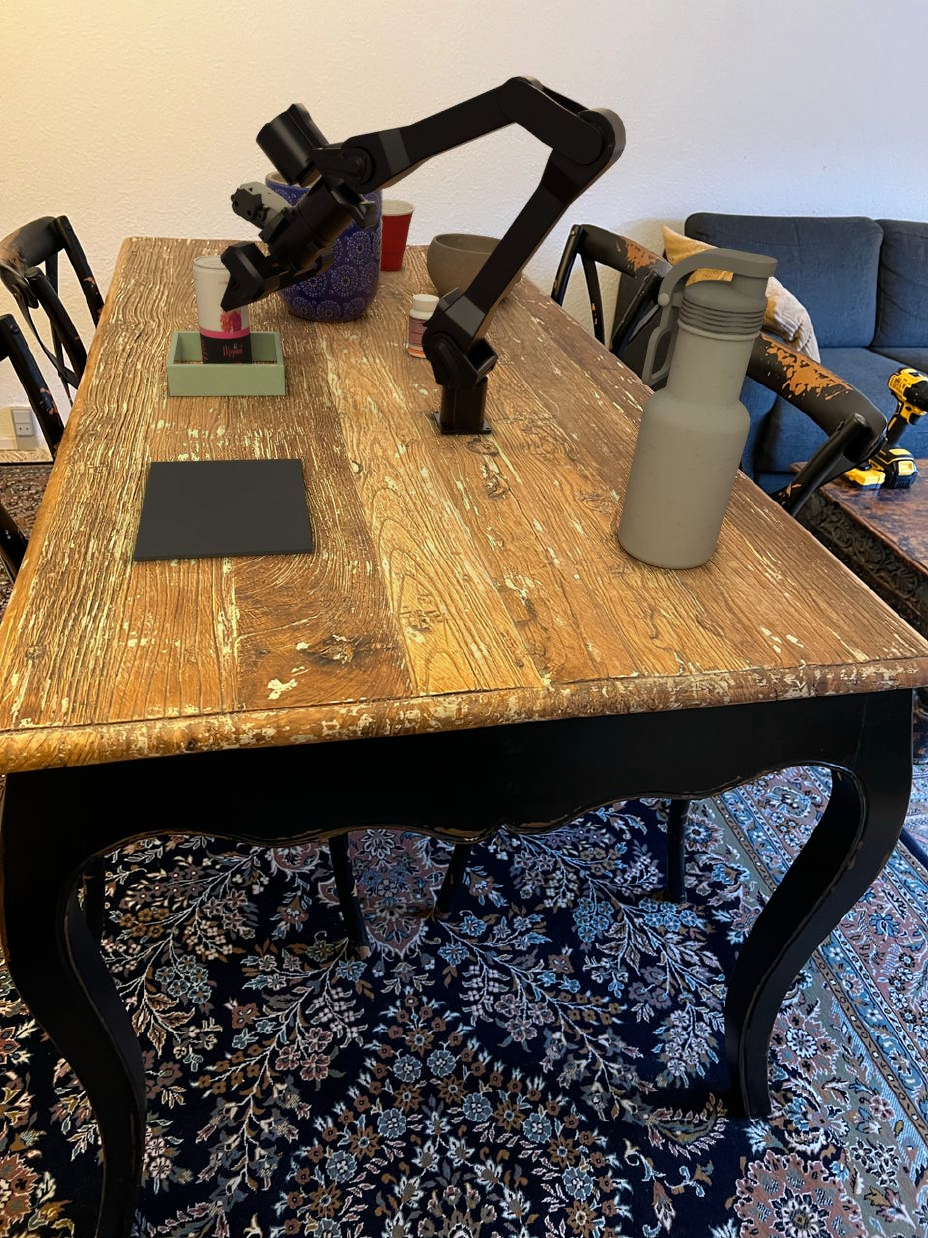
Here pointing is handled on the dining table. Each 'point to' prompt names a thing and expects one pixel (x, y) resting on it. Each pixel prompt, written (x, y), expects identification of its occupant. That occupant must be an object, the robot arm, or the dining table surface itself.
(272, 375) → the basin
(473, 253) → the bowl
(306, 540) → the mat
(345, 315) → the planter
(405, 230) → the plastic cup
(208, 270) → the beverage can
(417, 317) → the pill bottle
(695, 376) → the water bottle
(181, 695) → the dining table surface
